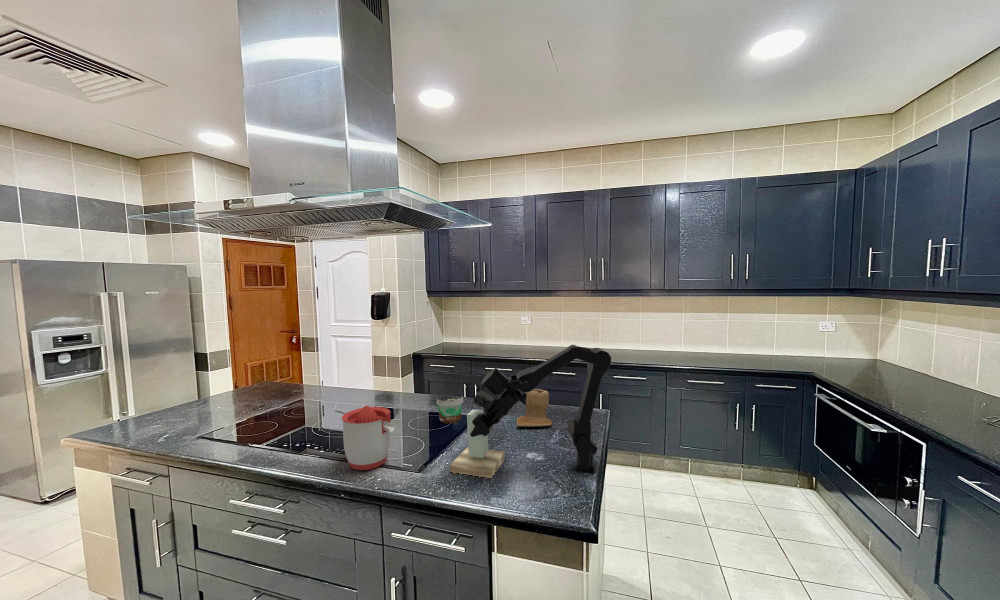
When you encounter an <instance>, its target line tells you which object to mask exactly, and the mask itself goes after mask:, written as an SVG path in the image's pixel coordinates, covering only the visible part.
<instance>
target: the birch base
mask: <svg viewBox="0 0 1000 600" xmlns="http://www.w3.org/2000/svg"><path fill="white" fill-rule="evenodd" d="M505 455H506V452H505V451H501V450H500V451H499V450H492V449H488V452H487V454H486V455H485V456H484V457H483V458H477V457H469V452H468V446H467V447H465V449H464V450H463V451H462V452H461V453H460V454H459V455H458V456H457V457H456V458H455V459H454V460H453V461H452V462H451V463H450V465H449V473H450V472H453V473H452V474H456V473H459V474H458V475H462V474H467V475H466V476H468V475H473V476H472V477H474V476H479V477H478V478H480V477H486V478H485V479H487V478H493V477H494V476H495V474H496V473H497V472H498V470H499V468H500V467H501V466H502V464H503V462H505V459H506V456H505ZM495 472H496V473H495ZM493 475H494V476H493ZM492 476H493V477H492Z"/></svg>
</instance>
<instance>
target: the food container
mask: <svg viewBox="0 0 1000 600" xmlns="http://www.w3.org/2000/svg"><path fill="white" fill-rule="evenodd" d="M463 403H464V397H463V395H461V396H460V397H458V398H456V397H455V398H447V399H445V400H440V399H438V398H437V400H436V403H435V404H436V405H437V409H438V415H439V422H440V421H441V422H440V423H442V422H443V423H442V424H448V423H450V424H456V423H459V422H460V421H461V420H462V411H463V410H462V409H463ZM458 421H459V422H458ZM455 422H456V423H455Z"/></svg>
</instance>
